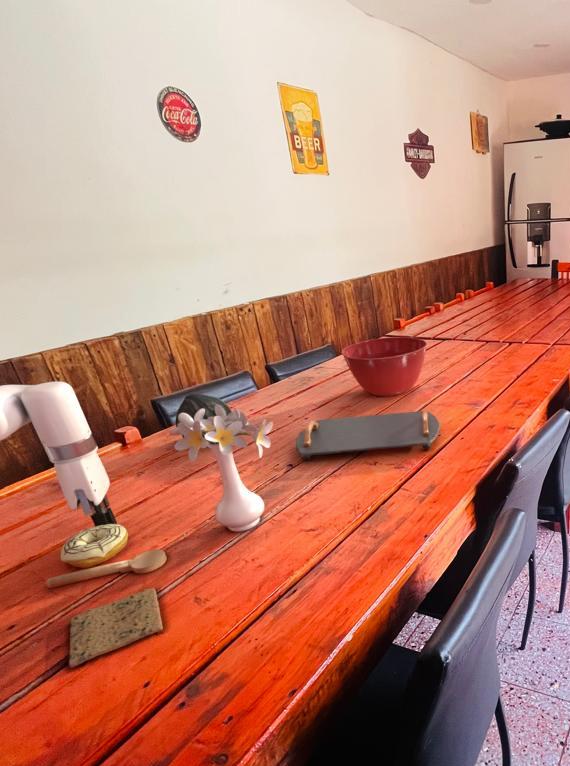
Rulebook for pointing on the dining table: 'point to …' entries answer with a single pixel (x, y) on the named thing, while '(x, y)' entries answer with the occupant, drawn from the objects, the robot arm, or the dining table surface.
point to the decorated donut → (94, 545)
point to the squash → (200, 406)
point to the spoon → (113, 568)
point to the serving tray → (367, 433)
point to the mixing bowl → (386, 364)
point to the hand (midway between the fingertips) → (107, 527)
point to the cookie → (113, 626)
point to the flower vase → (226, 460)
